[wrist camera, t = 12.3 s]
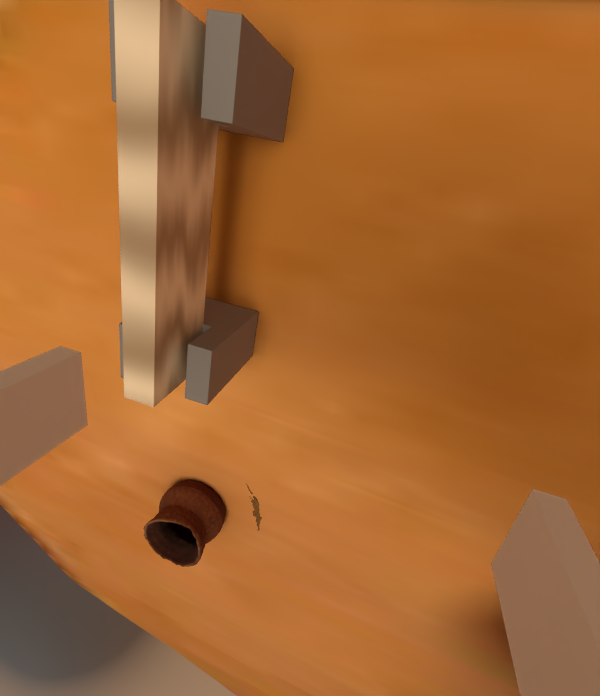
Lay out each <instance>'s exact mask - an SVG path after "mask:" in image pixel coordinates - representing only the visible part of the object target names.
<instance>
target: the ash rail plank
mask: <svg viewBox="0 0 600 696" xmlns="http://www.w3.org/2000/svg"><path fill="white" fill-rule="evenodd" d="M114 27H115V65H116V103H117V141H118V179H119V217H120V255H121V293H122V331H123V369H124V397H125V398H128V399H131V400H134V401H136V402H139V403H142V404H145V405H148V406H151V407H155V406H156V405H157V404H158V403H159V402H160V401H161V400H163V399H164V398H165V397H166V396H167V395H168V394H169V393H171V392H172V391H173V390H174V389H175V388H176V387H178V386H179V385H180V384H181V383H182V382H183V381H184V380H186V370H187V353H188V344H189V343H190V342H192V341H193V340H194V339H196V338H197V337H198V336H200V335H201V334H203V322H204V309H205V296H206V283H207V270H208V258H209V245H210V232H211V219H212V206H213V193H214V180H215V167H216V154H217V141H218V128H219V124H218V123H215V122H212V121H209V120H206V119H203V118H201V107H202V90H203V72H204V55H205V37H206V25H205V24H204V23H203V22H202V21H200V20H199V19H198V18H197V17H196V16H194V15H193V14H192V13H191V12H189V11H188V10H187V9H186V8H184V7H183V6H182V5H181V4H179V3H178V2H177V1H176V0H114Z"/></svg>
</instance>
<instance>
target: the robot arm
mask: <svg viewBox="0 0 600 696" xmlns="http://www.w3.org/2000/svg"><path fill="white" fill-rule="evenodd" d="M87 425H88V423H87V412H86V401H85V390H84V379H83V368H82V357H81V352H78V351H75V350H72V349H68V348H65V347H62V346H60V347H57V348H55V349H52V350H50V351H48V352H45V353H43V354H41V355H38V356H36V357H33V358H31V359H29V360H26V361H24V362H22V363H19V364H17V365H14V366H12V367H10V368H7V369H5V370H3V371H0V486H1V485H2V484H4V483H5V482H7V481H8V480H10V479H11V478H12V477H14V476H15V475H17V474H18V473H20V472H21V471H22V470H24V469H25V468H27V467H28V466H30V465H31V464H32V463H34V462H35V461H37V460H38V459H40V458H41V457H42V456H44V455H45V454H47V453H48V452H50V451H51V450H52V449H54V448H55V447H57V446H58V445H60V444H61V443H62V442H64V441H65V440H67V439H68V438H70V437H71V436H72V435H74V434H75V433H77V432H78V431H80V430H81V429H82V428H84V427H85V426H87ZM491 565H492V570H493V574H494V579H495V583H496V588H497V593H498V597H499V602H500V606H501V611H502V615H503V620H504V625H505V629H506V634H507V638H508V643H509V648H510V652H511V657H512V661H513V666H514V670H515V675H516V680H517V684H518V689H519V693H520V696H600V563H599V561H598V559H597V557H596V555H595V553H594V551H593V549H592V547H591V545H590V543H589V541H588V539H587V537H586V536H585V534H584V532H583V530H582V528H581V526H580V524H579V522H578V520H577V518H576V516H575V514H574V512H573V510H572V508H571V506H570V505H569V503H568V501H567V499H565V498H561V497H558V496H555V495H551V494H548V493H545V492H541V491H538V490H535V489H533V490H532V491H531V493H530V495H529V497H528V498H527V500H526V502H525V504H524V506H523V507H522V509H521V511H520V513H519V515H518V516H517V518H516V520H515V522H514V523H513V525H512V527H511V529H510V531H509V532H508V534H507V536H506V538H505V540H504V541H503V543H502V545H501V547H500V549H499V550H498V552H497V554H496V556H495V557H494V559H493V561H492V563H491Z"/></svg>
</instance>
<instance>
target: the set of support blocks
mask: <svg viewBox="0 0 600 696" xmlns="http://www.w3.org/2000/svg"><path fill="white" fill-rule="evenodd" d="M109 22H110V53H111V84H112V101H115V102H116V65H115V27H114V0H109ZM293 70H294V68H293V67H292V66H291V65H290V64H289V63H288V62H287V61H286V60H285V59H284V58H283V57H282V56H281V54H280V53H279V52H278V51H277V50H276V49H275V48H274V47H273V46H272V45H271V44H270V43H269V42H268V41H267V40H266V39H265V38H264V37H263V36H262V35H261V33H260V32H259V31H258V30H257V29H256V28H255V27H254V26H253V25H252V24H251V23H250V22H249V21H248V20H247V19H246V18H245V17H244V16H243V15H242V14H238V13H231V12H224V11H217V10H210V9H207V20H206V37H205V55H204V72H203V90H202V107H201V118H203V119H206V120H209V121H212V122H215V123H218V124H219V128H218V130H223V131H228V132H233V133H239V134H244V135H249V136H254V137H259V138H264V139H269V140H274V141H279V142H283V140H284V133H285V126H286V119H287V112H288V105H289V98H290V91H291V84H292V77H293ZM258 314H259V312H258V311H254V310H250V309H247V308H243V307H240V306H236V305H232V304H229V303H225V302H221V301H218V300H214V299H210V298H207V297H205V309H204V322H203V334H201V335H200V336H198V337H197V338H196V339H194V340H193V341H192V342H190V343H189V344H188V353H187V370H186V388H185V398H186V399H189V400H193V401H196V402H199V403H202V404H205V405H208V404H209V403H210V402H211V400H212V399H213V398H214V397H215V396H216V395H217V394H218V393H219V392H220V391H221V390H222V388H223V387H224V386H225V385H226V384H227V383H228V382H229V381H230V380H231V379H232V378H233V376H234V375H235V374H236V373H237V372H238V371H239V370H240V369H241V368H242V367H243V366H244V364H245V363H246V362H247V361H248V360H249V359H250V358H251V357H252V355H253V348H254V341H255V335H256V328H257V321H258ZM119 331H120V362H121V377H122V378H124V369H123V331H122V322H121V323H119Z"/></svg>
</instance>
